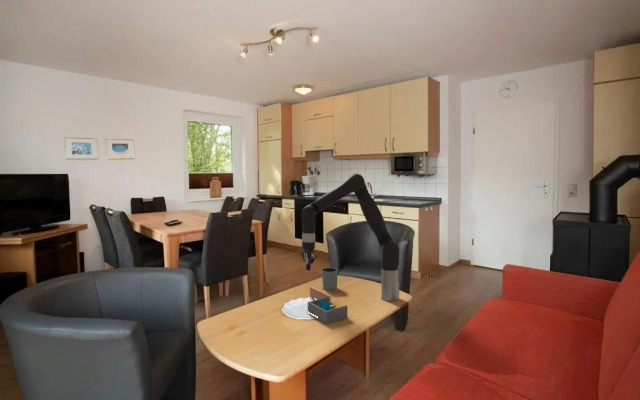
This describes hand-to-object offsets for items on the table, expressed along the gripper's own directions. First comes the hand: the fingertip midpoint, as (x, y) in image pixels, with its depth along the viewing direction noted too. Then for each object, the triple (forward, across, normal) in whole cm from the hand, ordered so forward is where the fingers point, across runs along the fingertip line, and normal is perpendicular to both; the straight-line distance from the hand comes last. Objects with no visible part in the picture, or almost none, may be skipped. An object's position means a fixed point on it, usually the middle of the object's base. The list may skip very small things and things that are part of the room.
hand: (308, 270), depth 200 cm
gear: (+16, +28, -5) cm, 32 cm away
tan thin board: (+16, +10, +1) cm, 19 cm away
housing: (+16, +28, -5) cm, 32 cm away
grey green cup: (+16, -5, +19) cm, 25 cm away
